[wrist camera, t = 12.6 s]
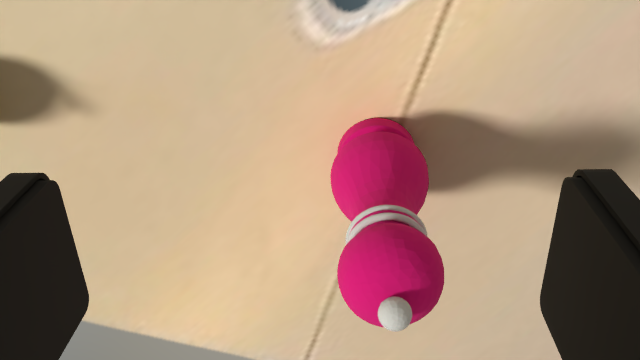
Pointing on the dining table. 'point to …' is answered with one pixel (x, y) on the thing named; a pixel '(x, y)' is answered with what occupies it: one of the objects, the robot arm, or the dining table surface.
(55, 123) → the dining table surface
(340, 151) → the pepper mill
